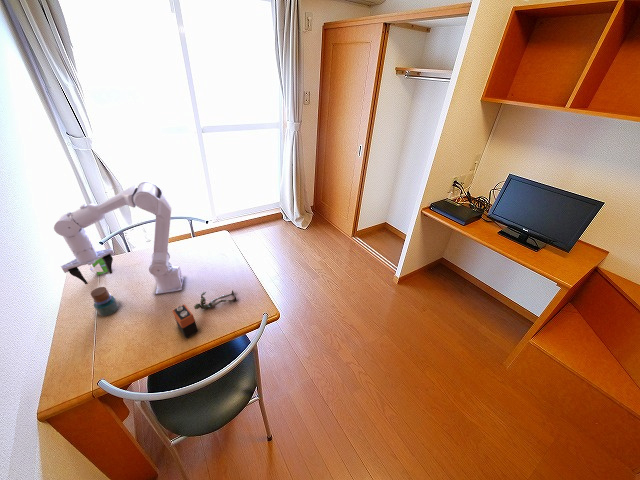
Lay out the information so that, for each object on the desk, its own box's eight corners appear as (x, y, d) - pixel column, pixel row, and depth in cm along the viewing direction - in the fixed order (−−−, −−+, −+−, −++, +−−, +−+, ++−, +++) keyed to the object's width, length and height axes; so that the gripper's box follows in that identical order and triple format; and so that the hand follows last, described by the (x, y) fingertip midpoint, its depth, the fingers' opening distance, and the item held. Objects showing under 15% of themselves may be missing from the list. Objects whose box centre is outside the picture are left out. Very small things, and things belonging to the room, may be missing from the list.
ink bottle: (121, 301, 102) (115, 290, 99) (115, 314, 97) (109, 302, 94) (101, 304, 101) (94, 293, 97) (95, 317, 95) (87, 305, 92)
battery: (186, 339, 90) (179, 320, 85) (178, 327, 94) (170, 308, 88) (198, 331, 93) (192, 312, 87) (190, 320, 97) (183, 301, 91)
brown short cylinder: (111, 292, 98) (108, 285, 96) (107, 301, 94) (103, 294, 93) (97, 294, 97) (93, 287, 95) (92, 303, 93) (88, 297, 91)
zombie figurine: (234, 289, 101) (193, 304, 95) (237, 301, 105) (197, 316, 99) (230, 280, 105) (190, 294, 98) (232, 292, 109) (194, 306, 102)
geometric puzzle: (87, 266, 115) (84, 259, 109) (106, 259, 119) (104, 252, 113) (96, 279, 114) (93, 273, 108) (114, 272, 118) (112, 266, 112)
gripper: (57, 262, 84) (77, 293, 91) (110, 243, 93) (124, 272, 101) (52, 253, 87) (71, 283, 95) (103, 235, 97) (117, 264, 104)
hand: (98, 277), depth 98 cm, fingers open, 7 cm apart
